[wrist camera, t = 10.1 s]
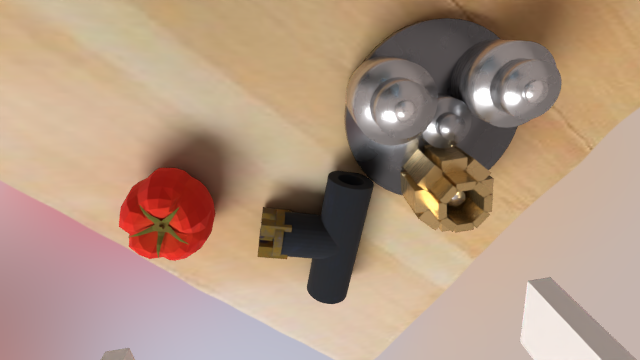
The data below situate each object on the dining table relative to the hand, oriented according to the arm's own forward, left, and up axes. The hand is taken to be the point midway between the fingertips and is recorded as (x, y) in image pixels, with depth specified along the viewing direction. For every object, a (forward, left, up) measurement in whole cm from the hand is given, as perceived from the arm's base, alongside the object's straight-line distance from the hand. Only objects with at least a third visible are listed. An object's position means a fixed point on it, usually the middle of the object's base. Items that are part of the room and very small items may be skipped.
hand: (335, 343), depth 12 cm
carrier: (+1, +14, -29) cm, 32 cm away
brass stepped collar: (+8, +14, -28) cm, 32 cm away
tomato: (+6, -15, -29) cm, 33 cm away
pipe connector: (+12, -1, -29) cm, 32 cm away
